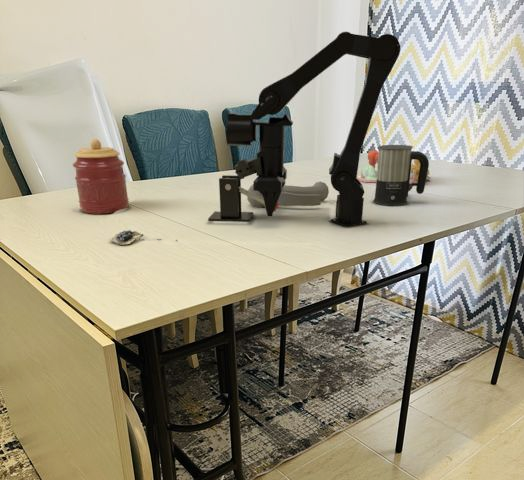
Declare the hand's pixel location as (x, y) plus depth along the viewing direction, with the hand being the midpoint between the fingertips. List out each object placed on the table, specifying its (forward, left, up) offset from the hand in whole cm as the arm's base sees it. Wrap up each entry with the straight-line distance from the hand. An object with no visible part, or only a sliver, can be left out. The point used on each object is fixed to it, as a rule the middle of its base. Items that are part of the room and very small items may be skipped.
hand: (270, 214), depth 126 cm
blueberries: (-2, +36, +2) cm, 36 cm away
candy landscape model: (+29, -65, -2) cm, 71 cm away
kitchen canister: (+34, +32, -2) cm, 47 cm away
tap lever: (+3, +4, +3) cm, 6 cm away
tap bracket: (+6, +8, -2) cm, 10 cm away
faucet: (+16, -16, -2) cm, 22 cm away
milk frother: (+4, -43, -2) cm, 43 cm away
